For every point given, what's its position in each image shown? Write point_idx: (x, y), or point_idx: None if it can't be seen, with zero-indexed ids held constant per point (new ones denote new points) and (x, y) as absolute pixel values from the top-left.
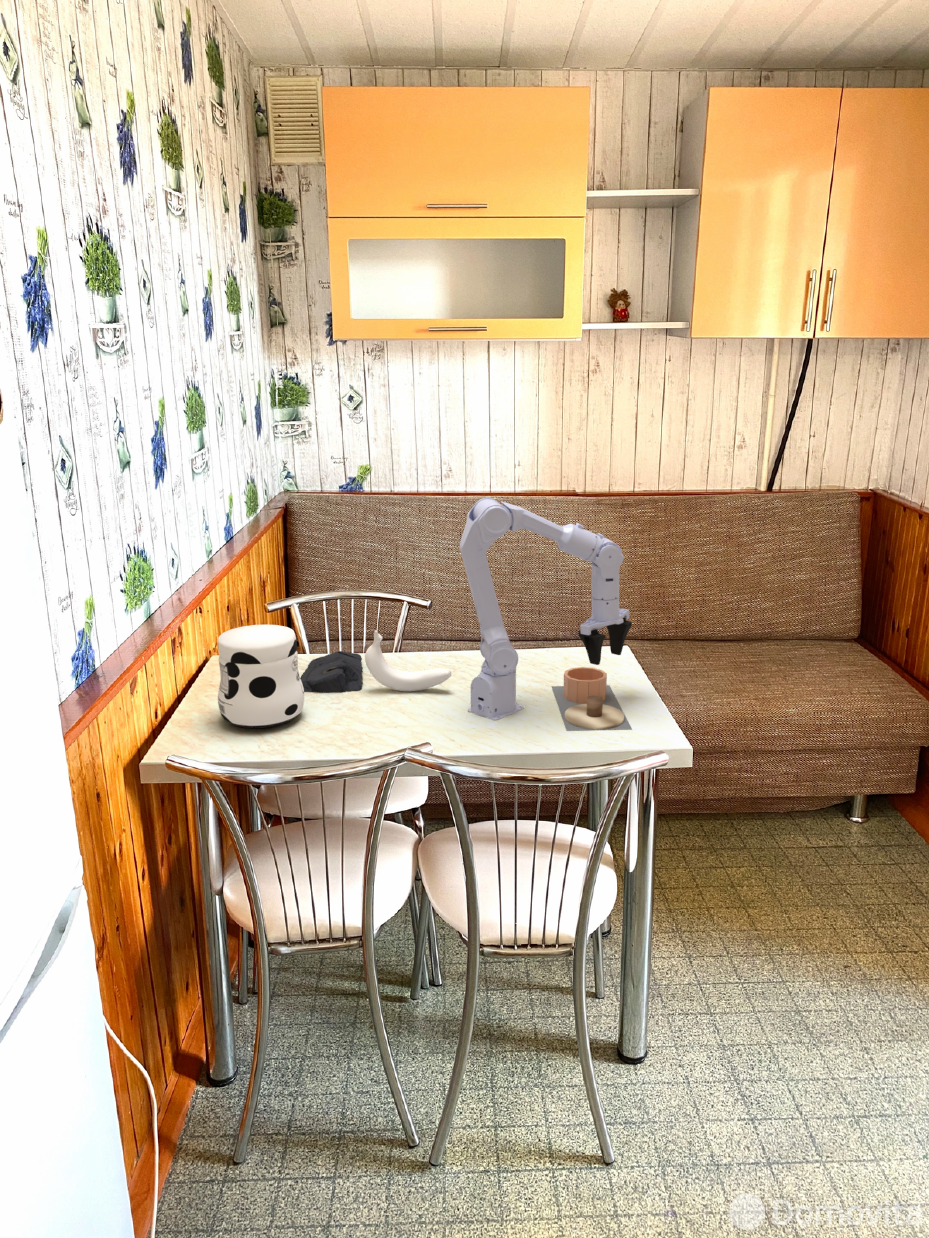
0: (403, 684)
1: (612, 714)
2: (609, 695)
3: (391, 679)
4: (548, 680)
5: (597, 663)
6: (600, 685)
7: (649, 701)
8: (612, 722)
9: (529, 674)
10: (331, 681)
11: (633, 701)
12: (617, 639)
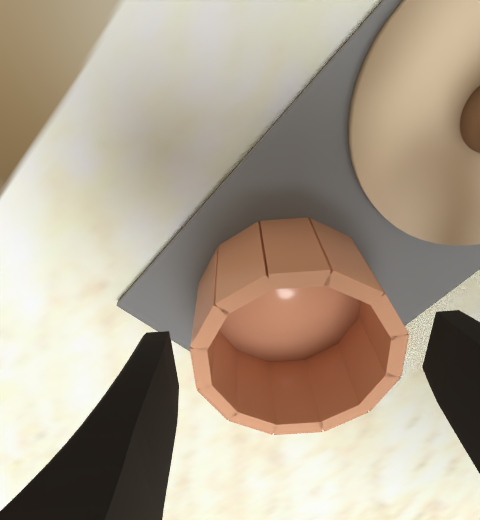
0: None
1: (452, 43)
2: (206, 237)
3: None
4: (238, 446)
5: (470, 318)
6: (313, 254)
7: (96, 67)
8: None
9: (240, 495)
10: None
11: (162, 127)
12: (145, 469)
